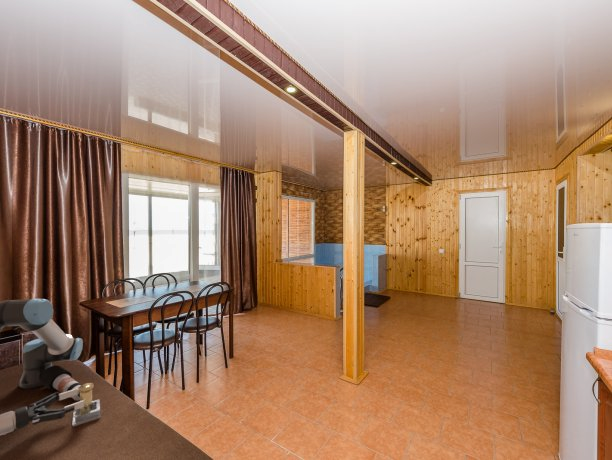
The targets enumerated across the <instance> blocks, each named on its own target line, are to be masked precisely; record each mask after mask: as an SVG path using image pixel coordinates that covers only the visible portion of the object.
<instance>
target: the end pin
mask: <svg viewBox="0 0 612 460" xmlns="http://www.w3.org/2000/svg"><path fill="white" fill-rule="evenodd" d="M93 389H94V383H93V382H87V383H84V384H81V386H80V387H79V388H78V392H80V400H79V402H80V401H82V400H83V401H84V407H82V408H80V414H82V413H86V412H89V411H92V401H93Z"/></svg>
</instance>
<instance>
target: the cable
mask: <svg viewBox="0 0 612 460" xmlns="http://www.w3.org/2000/svg"><path fill="white" fill-rule="evenodd" d="M40 382H41V383H42V384H43V385H42V386H44V387H46V388H47V389H49V390H50V391H52V392H54V393H56V392H59V393H60V394H61V393H64V392H67V391H70V390H73V389H76V388H77V395H75V396H72V397H70V398H71V399H73V400H74V401H77V402H79V401H80V392H78V388H79V387H80V386H81V385H82V384H81V383H80V382H78V381H77V380H76V379H75V378H73V375H72V373H71V372H70V371H68V370H67V369H65V368H64V367H62V366H61V365H58V364H57V365H53V366H51V367H49V368H47V369H46V370H45V371H44V372H43V373H42V375H41V377H40Z"/></svg>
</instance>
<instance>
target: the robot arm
mask: <svg viewBox="0 0 612 460" xmlns="http://www.w3.org/2000/svg"><path fill="white" fill-rule="evenodd" d="M53 315H54V308H53V304H52V303H51V301H50V300H49V299H45V298H28V299H27V298H26V299H13V300H12V299H7V300H2V301H0V331H1V330H2V329H3V328H5V327H20V328H21V329H22V330H24V331H26V332H32V333H33V334H34V335H35V336H36V337H37V338H36V339H33V340H31V341H28V342H27V343H25V344H24V345H23V350H22V355H23V356H22V359H23V373H22V375H21V377H20V379H19V388H21V389H33V388H38V387H42V386H44V385H43V384H42V383H41V382H40V377H41V375H42V373H43V372H44V371H45V370H46V369H47V368H49V367H51V366H54V365H53V363H55V362H56V363H57V362H66V361H67V362H69V361H70V362H71V361H75V360H77V359H78V358H79V357H80V356H81V354H82V351H83V343H84V341H83V339H82V338H80V337H77V338H74V337H73V335H71V334H69V333H65V332H64V331H63V330H62V329H61V327H60V326H59V325H58V324H57V323H56V322H55V321H54V319H52V318H53ZM75 395H77V388H76V389H73V390H70V391H67V392H64V393H61V392H60V391H56V392H54V393H52V394H49V395H47V396H45V397H44V398H42V399H39V400H38V401H35V402H33V403H30V404H29V408H28V406H27V405H26V406H22V407H20V408H17V409H15V410H14V411H13V410H10V411H8V412H7V411H6V412H4V413H1V414H0V437H1V436H2V435H4V436H5V435H7V434H8V433H11V432H14V430H15V429H16V430H20V429H23V428H25V427H28V426H29V424H30V422H32V423H31V424H32V425H37V424H40V423H45V422H51V421H56V420H61V419H63V418H65V417H66V416H65V415H66V414H68V413H71V412H75V411H76V410H77V409H80V408H82V407H84V401H83V400H82V401H80V400H79V401H77V402H74V403H72V404H69V405H66V406H63V407H64V408H51V409H50V408H49V407H50V406H51V405H53V404H55V403H56V402H57V401H63V400H66V399H68V398H71V397H72V396H75ZM48 408H49V409H48Z"/></svg>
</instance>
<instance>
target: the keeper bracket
mask: <svg viewBox="0 0 612 460" xmlns="http://www.w3.org/2000/svg"><path fill="white" fill-rule="evenodd" d="M72 412H73V414H72V423H71V424H72V425H71V426H72V427H76V426H80V425H83V424H86V423H89V422H93V421H95V420H98V419H100V418H101V402H100V399H95V400H92V411H89V412H86V413H82V414H80V409H77V410H74V411H72Z"/></svg>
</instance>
